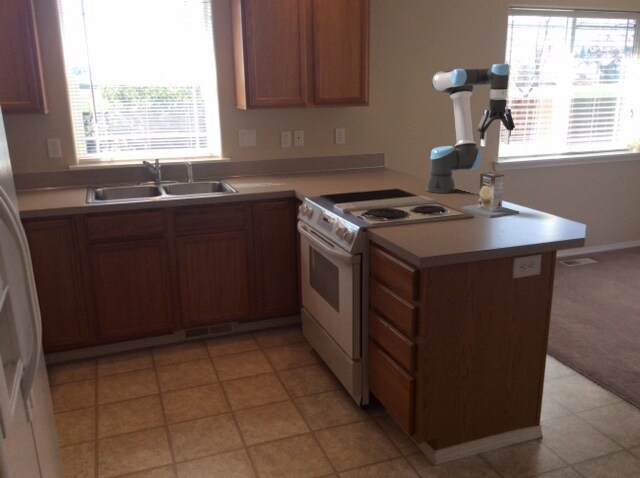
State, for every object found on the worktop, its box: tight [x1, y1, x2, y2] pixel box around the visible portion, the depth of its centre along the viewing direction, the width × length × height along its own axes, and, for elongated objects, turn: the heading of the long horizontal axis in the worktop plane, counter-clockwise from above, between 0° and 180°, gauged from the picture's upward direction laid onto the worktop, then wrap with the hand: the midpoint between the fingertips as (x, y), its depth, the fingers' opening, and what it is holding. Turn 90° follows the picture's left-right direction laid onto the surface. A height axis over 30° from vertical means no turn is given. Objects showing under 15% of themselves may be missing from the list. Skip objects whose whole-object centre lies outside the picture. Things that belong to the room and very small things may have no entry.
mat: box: [461, 203, 520, 219], centre depth 256 cm, size 20×16×1 cm
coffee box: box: [477, 171, 505, 211], centre depth 253 cm, size 9×6×16 cm
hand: (494, 145), depth 265 cm, fingers open, 13 cm apart
